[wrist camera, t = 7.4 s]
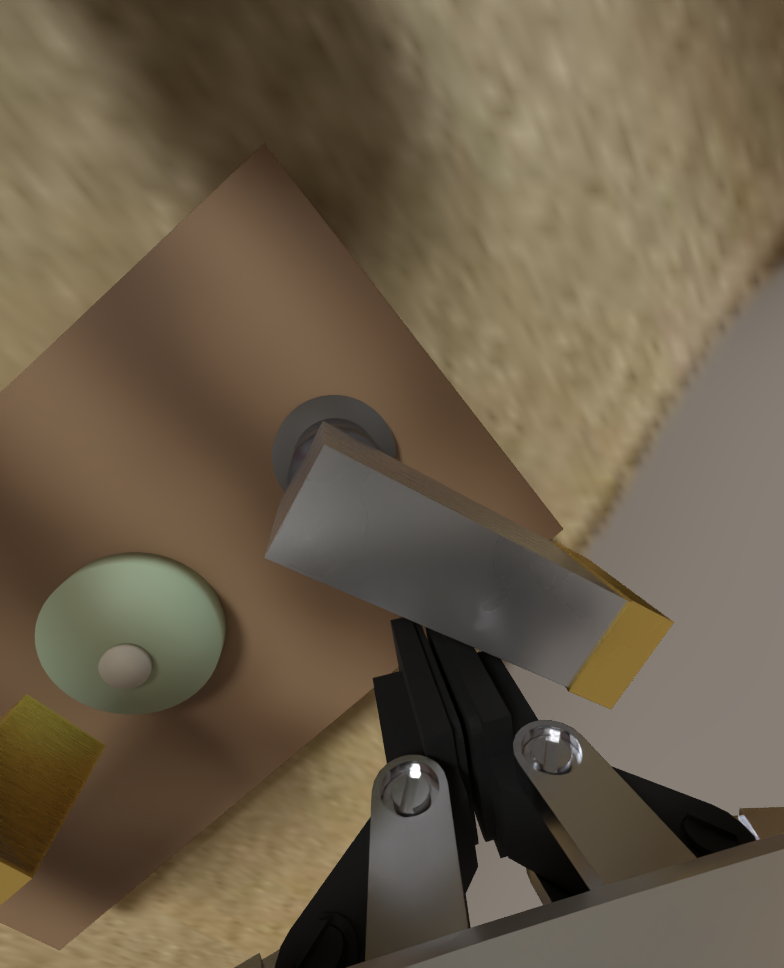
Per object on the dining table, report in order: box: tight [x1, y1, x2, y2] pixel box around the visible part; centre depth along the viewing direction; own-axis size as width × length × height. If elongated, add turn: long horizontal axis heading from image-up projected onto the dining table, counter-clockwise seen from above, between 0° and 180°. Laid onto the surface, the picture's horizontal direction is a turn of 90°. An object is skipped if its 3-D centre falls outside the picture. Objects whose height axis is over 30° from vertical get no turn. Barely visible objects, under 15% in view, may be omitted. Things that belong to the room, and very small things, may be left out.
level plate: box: [0, 143, 563, 950], centre depth 14 cm, size 24×14×3 cm, turn 130°
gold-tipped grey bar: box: [264, 418, 674, 709], centre depth 11 cm, size 8×2×6 cm, turn 61°
